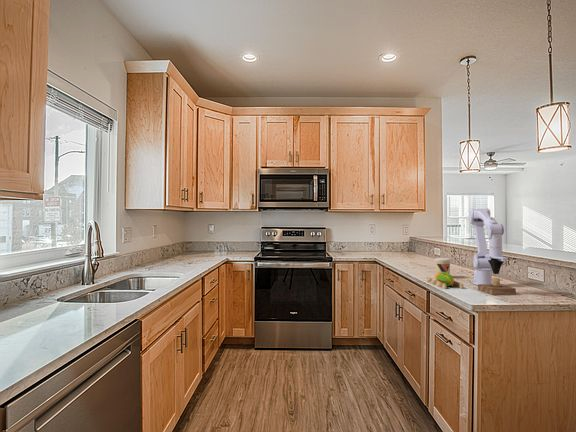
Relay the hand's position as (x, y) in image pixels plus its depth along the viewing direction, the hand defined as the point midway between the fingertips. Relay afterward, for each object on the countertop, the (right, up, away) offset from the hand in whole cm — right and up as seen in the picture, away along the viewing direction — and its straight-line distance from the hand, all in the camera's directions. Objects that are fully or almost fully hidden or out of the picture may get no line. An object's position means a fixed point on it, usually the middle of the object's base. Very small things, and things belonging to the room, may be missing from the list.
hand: (495, 273), depth 175 cm
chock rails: (-17, -10, +21) cm, 29 cm away
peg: (0, -9, 0) cm, 9 cm away
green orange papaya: (-18, -10, +21) cm, 29 cm away
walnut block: (0, -9, 0) cm, 9 cm away
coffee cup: (-7, -10, +44) cm, 46 cm away
